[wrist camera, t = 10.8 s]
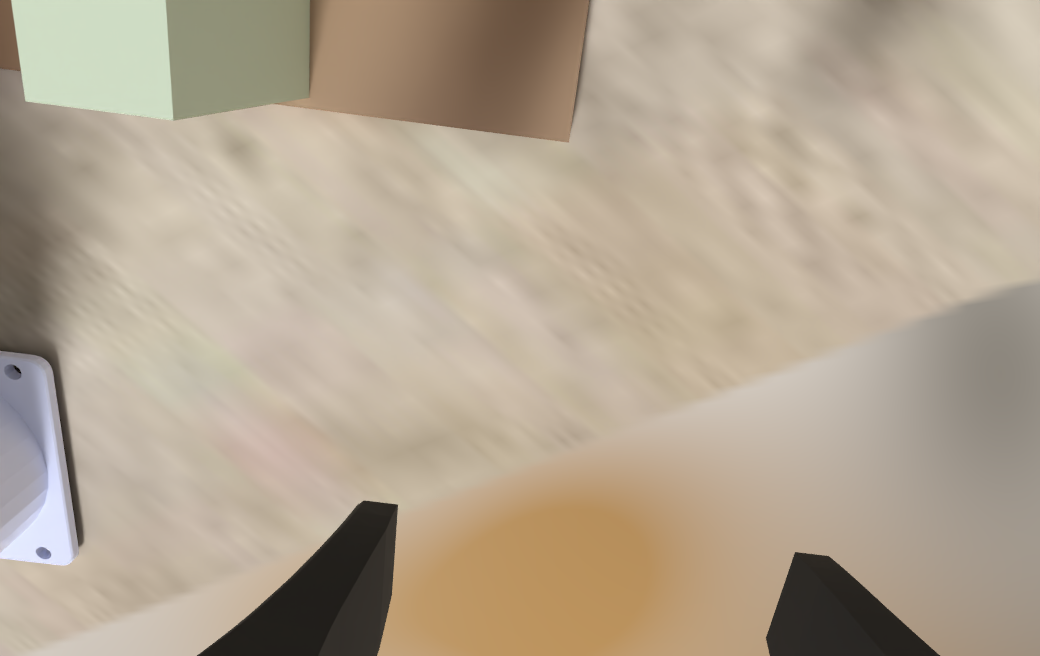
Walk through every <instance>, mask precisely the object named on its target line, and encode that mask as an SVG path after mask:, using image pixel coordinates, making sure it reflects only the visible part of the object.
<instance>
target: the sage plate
mask: <svg viewBox="0 0 1040 656" xmlns="http://www.w3.org/2000/svg"><path fill="white" fill-rule="evenodd" d="M11 3H12V10H13V17H14V24H15V31H16V38H17V45H18V53H19V60H20V67H21V74H22V81H23V88H24V95H25V101H27V102H34V103H42V104H50V105H57V106H65V107H73V108H81V109H88V110H96V111H104V112H112V113H119V114H127V115H135V116H142V117H150V118H158V119H166V120H179V119H185V118H191V117H197V116H203V115H209V114H215V113H221V112H227V111H233V110H239V109H245V108H251V107H257V106H263V105H269V104H275V103H281V102H286V101H292V100H298V99H304V98H309V55H310V0H11Z"/></svg>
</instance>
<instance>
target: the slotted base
mask: <svg viewBox="0 0 1040 656" xmlns="http://www.w3.org/2000/svg"><path fill="white" fill-rule="evenodd" d="M588 7H589V0H310V55H309V98H304V99H298V100H292V101H286V102H281V103H275V104H278V105H286V106H293V107H301V108H309V109H316V110H324V111H332V112H339V113H347V114H355V115H362V116H370V117H378V118H385V119H393V120H401V121H409V122H416V123H424V124H432V125H439V126H447V127H455V128H462V129H470V130H478V131H485V132H493V133H501V134H508V135H516V136H524V137H531V138H539V139H547V140H554V141H562V142H569V137H570V130H571V123H572V117H573V110H574V103H575V96H576V89H577V82H578V75H579V68H580V62H581V55H582V48H583V41H584V34H585V27H586V20H587V13H588ZM0 68H2V69H9V70H17V71H21V67H20V60H19V53H18V45H17V38H16V31H15V24H14V17H13V10H12V3H11V0H0Z"/></svg>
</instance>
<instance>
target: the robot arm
mask: <svg viewBox="0 0 1040 656" xmlns="http://www.w3.org/2000/svg"><path fill="white" fill-rule="evenodd" d="M13 365H14V366H17V367H18V368H19V369H20V371H21V373H22V374H20V373H18V372H17V371H16V370H15V368H14V366H13ZM397 510H398V505H396V504H388V503H380V502H371V501H363V502H361V503H360V504H359V505H357V506H356V508H355V509H354V510H353V511H352V513H351V514H350V515H349V516H348V517H347V518H346V520H345V521H344V522H343V523H342V524H341V525H340V527H339V528H338V529H337V530H336V531H335V532H334V533H333V534H332V535H331V537H330V538H329V539H328V540H327V541H326V542H325V543H324V544H323V545H322V546H321V547H320V549H318V550H317V551H316V552H315V553H314V554H313V556H312V557H311V558H310V559H309V560H308V561H307V562H306V563H305V564H304V565H303V566H302V567H301V568H300V569H299V570H298V571H297V572H296V573H295V574H294V575H293V576H292V577H291V578H290V579H288V581H286V582H285V583H284V584H283V585H282V586H281V587H280V588H279V589H278V590H277V591H275V592H274V593H273V594H272V595H271V596H270V597H269V598H268V599H267V600H265V601H264V602H263V603H262V604H261V605H260V606H259V607H258V608H257V609H255V610H254V611H253V612H252V613H251V614H250V615H249V616H247V617H246V618H245V619H244V620H242V621H241V622H240V623H239V624H238V625H236V626H235V627H234V628H233V629H232V630H230V631H229V632H228V633H226V634H225V635H224V636H222V637H221V638H220V639H218V640H217V641H216V642H215V643H213V644H212V645H211V646H209V647H208V648H207V649H205V650H204V651H203V652H201V653H200V654H199V655H197V656H377V653H378V651H379V648H380V643H381V639H382V635H383V630H384V626H385V622H386V618H387V613H388V609H389V604H390V600H391V596H392V582H393V569H394V553H395V538H396V525H397ZM46 548H47V549H48V550H47V549H46ZM78 553H79V547H78V540H77V534H76V527H75V520H74V513H73V506H72V499H71V493H70V486H69V479H68V472H67V465H66V458H65V452H64V445H63V438H62V431H61V424H60V417H59V411H58V404H57V397H56V390H55V383H54V376H53V371H52V368H51V365H50V364H49V363H48V362H47V361H46V360H45V359H43V358H42V357H40V356H36V355H30V354H22V353H14V352H6V351H0V558H3V559H11V560H20V561H28V562H37V563H45V564H54V565H67V564H70V563H71V562H72V561H73V560H74V559H75V558H76V557H77V555H78ZM766 640H767V644H768V649H769V654H770V656H940V655H938V654H937V653H936V652H935V651H934V650H933V649H931V647H929V646H928V645H927V644H926V643H925V642H924V641H923V640H922V639H920V638H919V637H918V636H917V635H916V634H915V633H914V632H912V630H910V629H909V628H908V627H907V626H906V625H905V624H904V623H903V622H902V621H901V620H899V619H898V618H897V617H896V616H895V615H894V614H893V613H892V612H891V611H889V610H888V609H887V608H886V607H885V606H884V605H883V604H882V603H881V602H880V601H879V600H878V599H877V598H875V597H874V596H873V595H872V594H871V593H870V592H869V591H868V590H867V589H865V587H863V586H862V585H861V584H860V583H859V582H858V581H857V580H856V579H855V578H853V577H852V576H851V575H850V574H849V573H848V572H847V571H845V570H844V569H843V568H842V567H841V566H840V565H839V564H837V563H836V562H835V561H834V560H833V559H831V558H830V557H829V556H822V555H814V554H806V553H798V552H795V554H794V557H793V560H792V563H791V566H790V569H789V572H788V575H787V578H786V581H785V584H784V587H783V590H782V593H781V596H780V599H779V601H778V605H777V607H776V610H775V613H774V616H773V619H772V622H771V625H770V628H769V631H768V634H767V637H766Z"/></svg>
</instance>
